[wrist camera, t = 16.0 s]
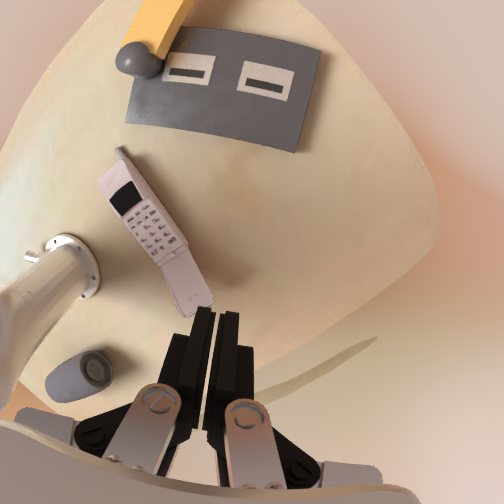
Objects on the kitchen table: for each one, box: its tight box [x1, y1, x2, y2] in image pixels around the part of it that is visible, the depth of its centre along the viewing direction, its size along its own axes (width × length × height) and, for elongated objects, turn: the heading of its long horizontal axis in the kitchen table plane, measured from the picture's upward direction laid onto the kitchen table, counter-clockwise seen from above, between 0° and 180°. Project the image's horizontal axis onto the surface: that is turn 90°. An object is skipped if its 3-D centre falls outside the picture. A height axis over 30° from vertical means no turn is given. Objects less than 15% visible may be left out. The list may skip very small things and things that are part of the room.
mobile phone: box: [98, 147, 215, 318], centre depth 35 cm, size 6×6×25 cm
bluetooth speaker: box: [45, 351, 113, 403], centre depth 48 cm, size 23×9×10 cm, turn 124°
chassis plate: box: [125, 26, 321, 153], centre depth 29 cm, size 22×14×2 cm, turn 77°
